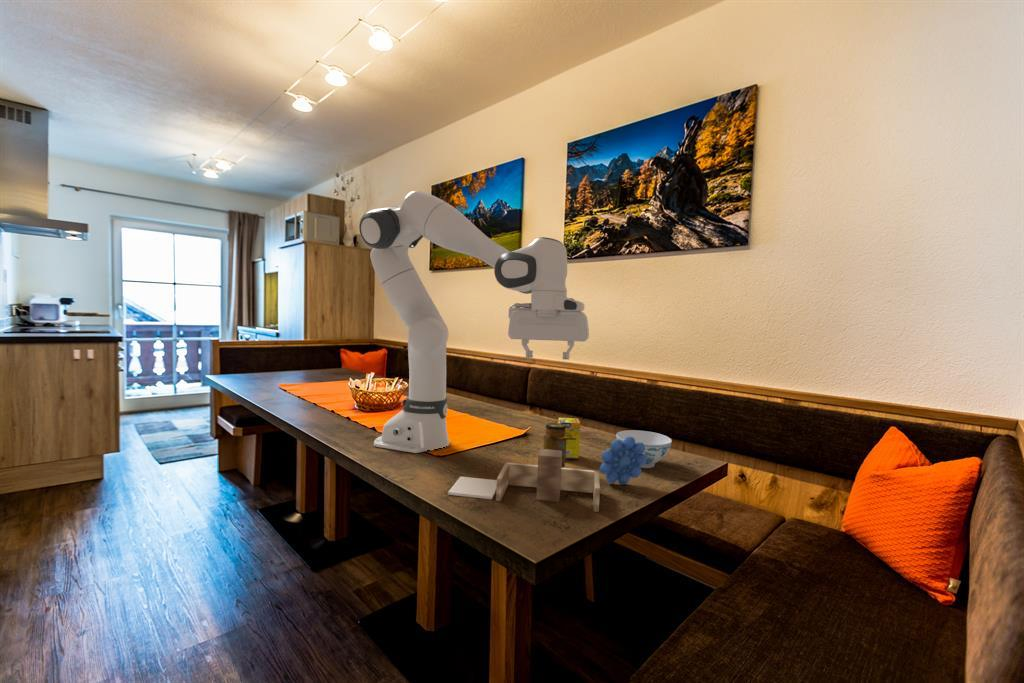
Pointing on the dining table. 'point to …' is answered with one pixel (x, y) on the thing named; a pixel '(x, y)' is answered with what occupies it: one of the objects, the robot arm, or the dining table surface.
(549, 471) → the walnut block
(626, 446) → the grapes
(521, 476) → the u-shaped barrier
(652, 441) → the chinaware
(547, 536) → the dining table surface
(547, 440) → the condiment
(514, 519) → the dining table surface
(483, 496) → the coaster
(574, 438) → the supplement box
